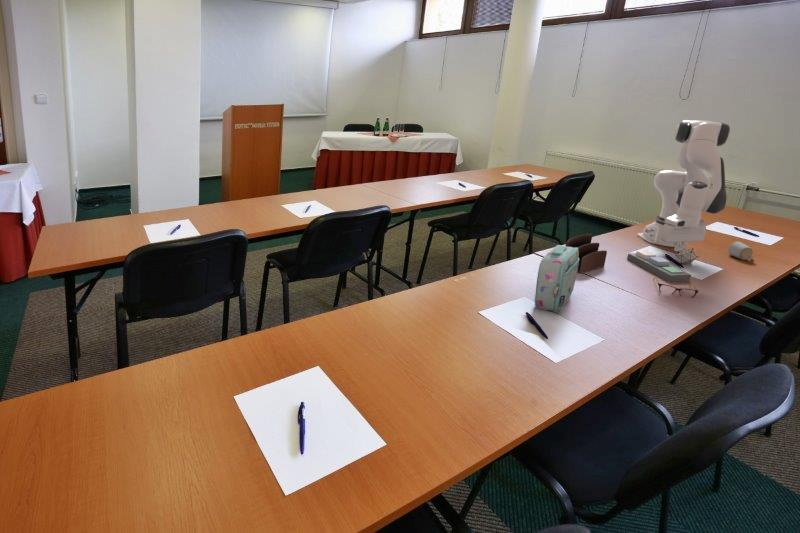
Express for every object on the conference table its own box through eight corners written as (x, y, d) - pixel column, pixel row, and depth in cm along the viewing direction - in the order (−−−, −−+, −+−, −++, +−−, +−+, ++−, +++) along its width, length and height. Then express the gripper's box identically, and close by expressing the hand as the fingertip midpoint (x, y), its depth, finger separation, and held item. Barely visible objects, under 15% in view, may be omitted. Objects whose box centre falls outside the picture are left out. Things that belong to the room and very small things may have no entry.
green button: (660, 273, 209) (661, 267, 208) (671, 272, 210) (673, 266, 209) (669, 278, 203) (671, 272, 202) (681, 278, 205) (683, 271, 204)
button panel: (626, 258, 226) (628, 253, 225) (645, 258, 229) (647, 252, 227) (669, 281, 201) (671, 275, 200) (689, 281, 203) (691, 274, 202)
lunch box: (558, 320, 160) (571, 262, 152) (529, 312, 164) (539, 255, 156) (573, 294, 181) (585, 242, 174) (547, 287, 186) (557, 236, 178)
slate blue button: (647, 263, 216) (649, 257, 215) (658, 262, 217) (660, 256, 216) (656, 267, 211) (658, 261, 210) (668, 267, 212) (669, 261, 211)
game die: (683, 270, 228) (696, 253, 227) (692, 270, 219) (706, 253, 219) (668, 259, 228) (681, 242, 228) (677, 258, 220) (690, 241, 219)
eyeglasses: (656, 292, 190) (659, 283, 188) (652, 280, 202) (655, 272, 201) (696, 300, 185) (699, 291, 184) (689, 287, 198) (692, 278, 196)
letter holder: (560, 267, 210) (566, 237, 205) (585, 260, 221) (591, 231, 216) (579, 274, 203) (586, 244, 197) (604, 266, 214) (611, 237, 209)
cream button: (635, 256, 224) (636, 250, 223) (645, 256, 225) (647, 250, 224) (643, 261, 218) (645, 255, 217) (654, 260, 220) (656, 255, 219)
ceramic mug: (738, 260, 235) (744, 246, 233) (726, 254, 243) (731, 241, 240) (756, 261, 237) (762, 247, 234) (743, 255, 245) (748, 241, 242)
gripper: (701, 218, 203) (692, 247, 208) (661, 218, 198) (653, 248, 203) (713, 222, 197) (703, 252, 202) (672, 222, 193) (663, 253, 198)
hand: (677, 250), depth 203 cm, fingers closed
